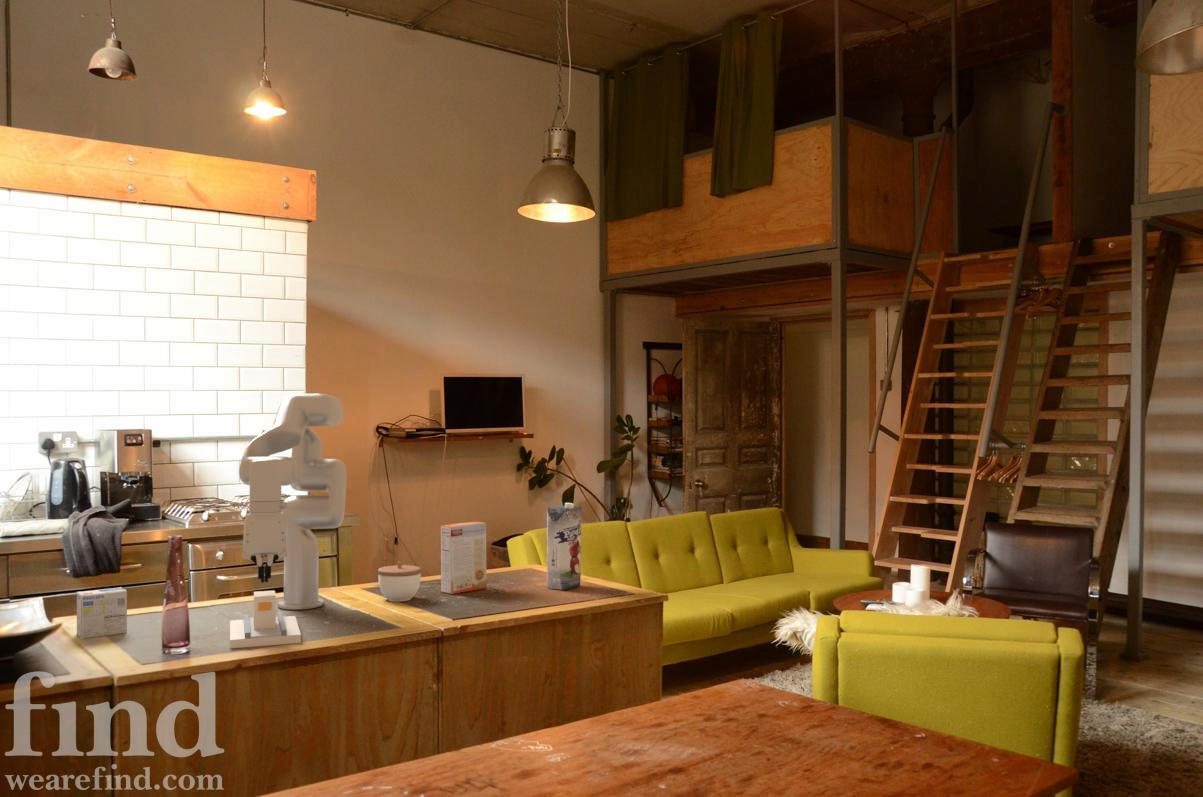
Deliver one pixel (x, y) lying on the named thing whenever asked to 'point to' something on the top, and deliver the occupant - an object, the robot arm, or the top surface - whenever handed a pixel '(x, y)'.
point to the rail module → (264, 609)
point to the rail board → (264, 632)
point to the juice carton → (563, 547)
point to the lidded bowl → (399, 581)
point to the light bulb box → (101, 612)
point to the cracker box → (463, 557)
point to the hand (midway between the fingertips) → (264, 581)
